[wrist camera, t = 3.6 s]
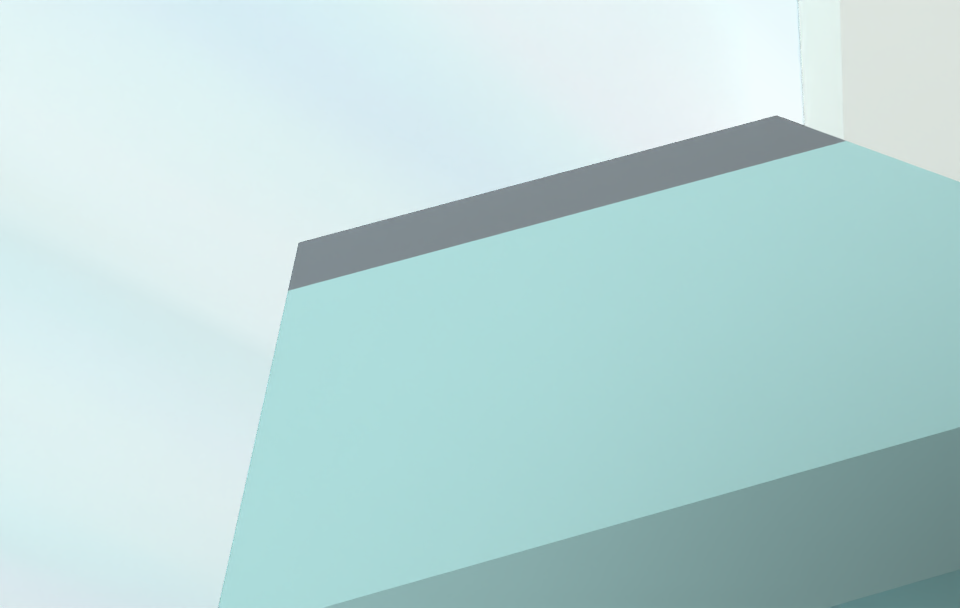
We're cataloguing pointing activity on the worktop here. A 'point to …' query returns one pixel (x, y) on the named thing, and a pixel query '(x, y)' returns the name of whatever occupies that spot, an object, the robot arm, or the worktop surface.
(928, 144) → the pin board
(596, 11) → the worktop surface
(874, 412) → the sleeve
